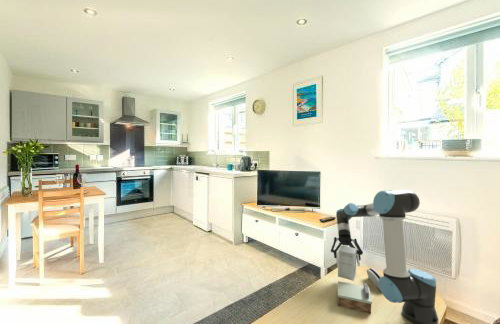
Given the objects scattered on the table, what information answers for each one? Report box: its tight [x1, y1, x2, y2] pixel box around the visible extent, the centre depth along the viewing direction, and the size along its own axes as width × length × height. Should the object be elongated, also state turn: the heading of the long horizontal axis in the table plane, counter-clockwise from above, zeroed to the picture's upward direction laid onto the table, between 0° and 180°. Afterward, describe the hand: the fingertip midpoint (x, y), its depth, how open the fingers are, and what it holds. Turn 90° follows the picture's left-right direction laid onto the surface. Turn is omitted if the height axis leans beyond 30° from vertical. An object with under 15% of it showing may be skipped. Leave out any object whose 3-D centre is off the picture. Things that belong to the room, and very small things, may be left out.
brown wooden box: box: [337, 296, 372, 314], centre depth 135 cm, size 16×14×5 cm
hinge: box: [365, 267, 383, 290], centre depth 153 cm, size 17×5×10 cm, turn 2°
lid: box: [337, 280, 373, 305], centre depth 135 cm, size 17×15×4 cm
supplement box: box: [337, 245, 358, 282], centre depth 151 cm, size 10×9×17 cm
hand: (348, 264), depth 149 cm, fingers closed on supplement box, 12 cm apart
